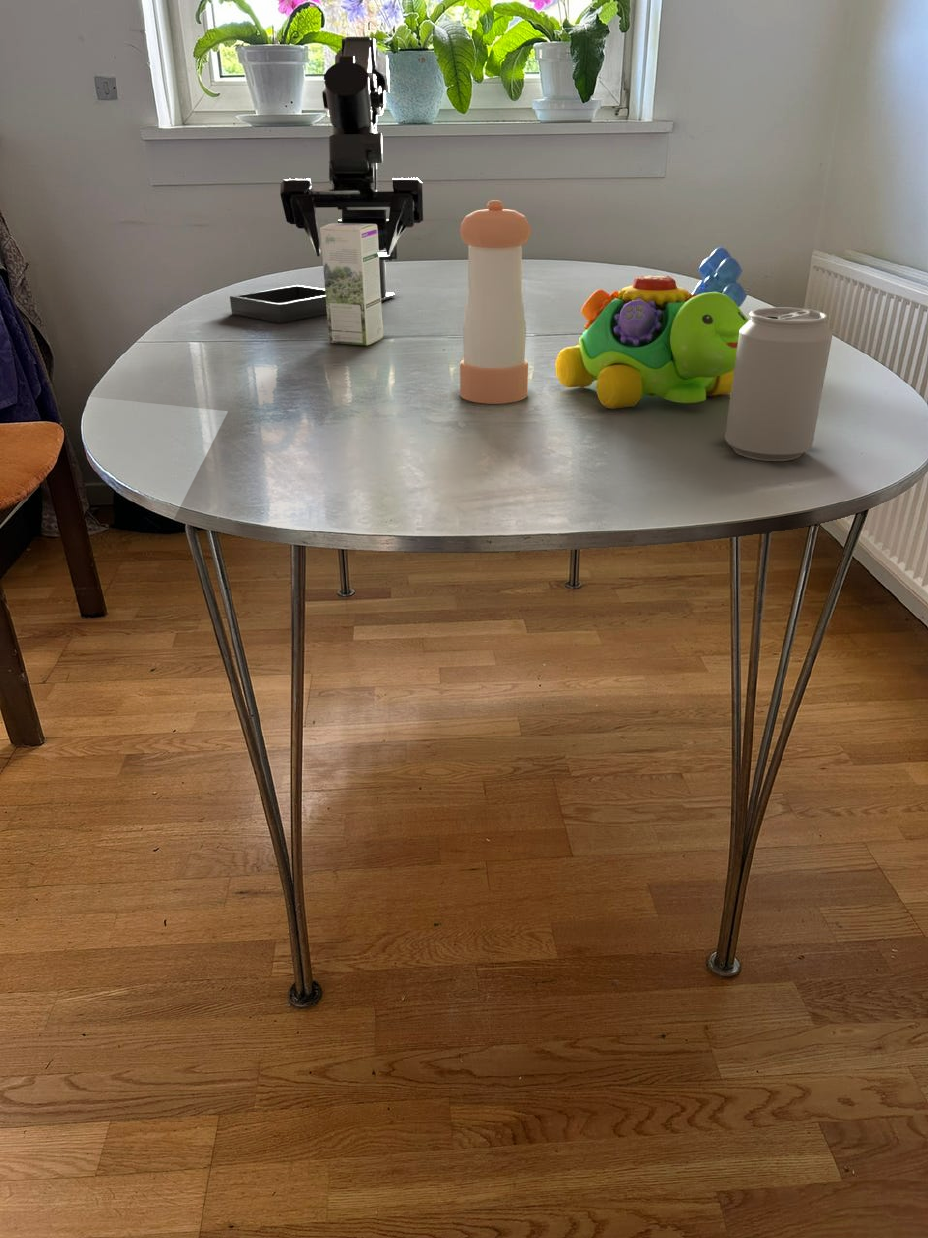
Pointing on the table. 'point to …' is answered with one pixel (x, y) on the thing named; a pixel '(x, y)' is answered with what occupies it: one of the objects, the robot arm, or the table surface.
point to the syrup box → (352, 283)
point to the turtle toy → (654, 344)
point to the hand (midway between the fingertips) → (353, 253)
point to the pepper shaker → (494, 307)
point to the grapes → (721, 276)
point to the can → (778, 383)
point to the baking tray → (281, 304)
